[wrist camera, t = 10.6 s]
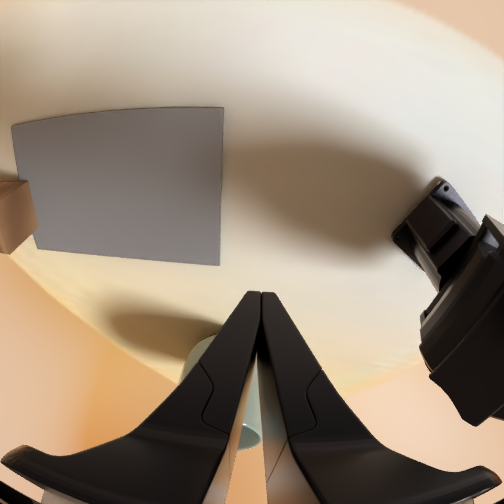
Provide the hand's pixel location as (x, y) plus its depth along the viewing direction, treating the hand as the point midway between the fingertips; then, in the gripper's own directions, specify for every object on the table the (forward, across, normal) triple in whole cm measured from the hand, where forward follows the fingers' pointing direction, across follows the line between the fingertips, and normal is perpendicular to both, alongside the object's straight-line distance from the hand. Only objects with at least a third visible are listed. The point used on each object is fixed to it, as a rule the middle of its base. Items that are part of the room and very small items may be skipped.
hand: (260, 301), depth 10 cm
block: (+10, +20, +3) cm, 22 cm away
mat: (+13, +12, +2) cm, 18 cm away
